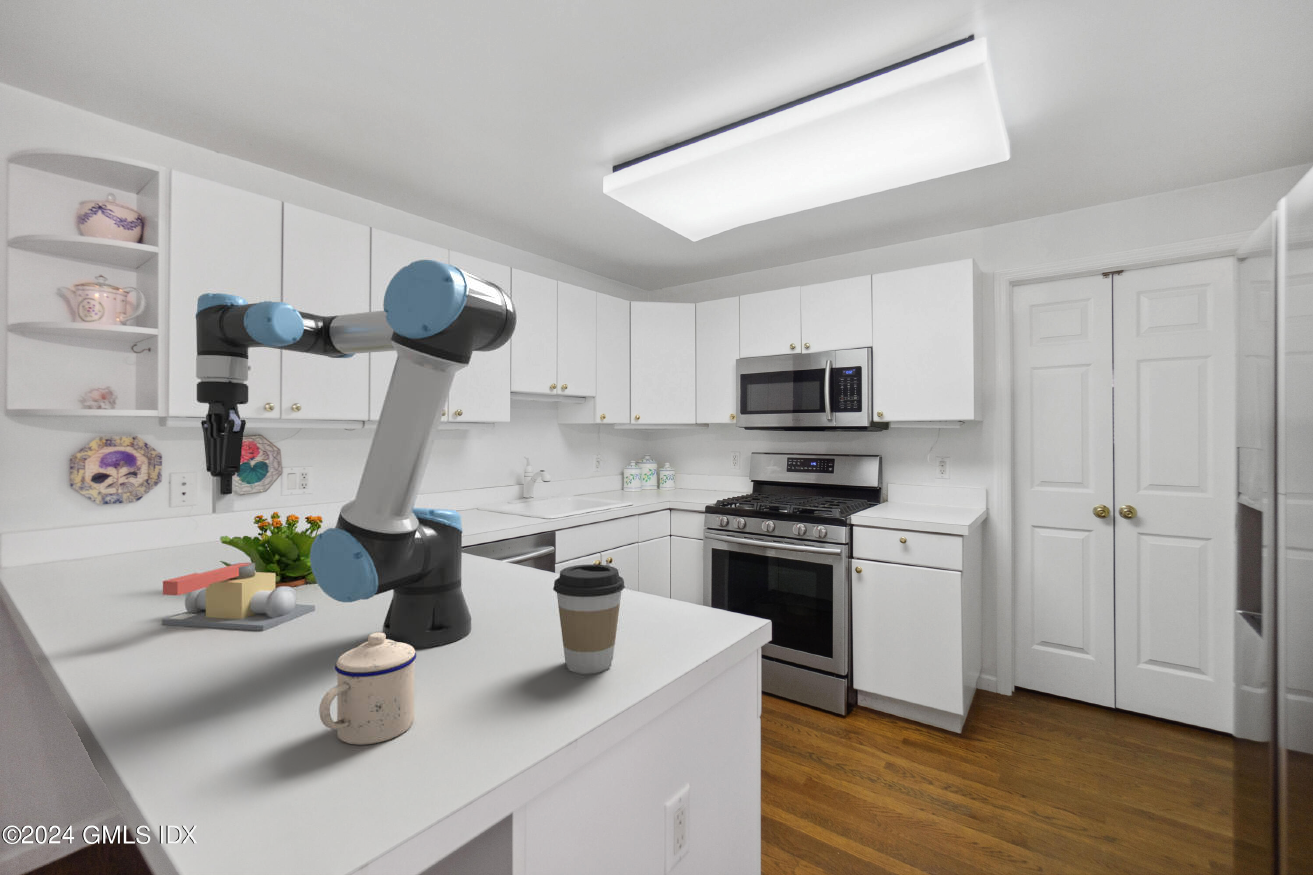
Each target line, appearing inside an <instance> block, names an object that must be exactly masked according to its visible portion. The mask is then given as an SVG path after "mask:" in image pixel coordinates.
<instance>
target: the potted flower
mask: <svg viewBox="0 0 1313 875" xmlns="http://www.w3.org/2000/svg"><path fill="white" fill-rule="evenodd" d="M279 514H280V512H278V511H273V512H272V514H270V521H268V519H269V518H268V517H267V518H266V517H265V518H264V515H263V514H260V515H255V516H254V517H253V520H254V521H253V524H254V525H257V526H256V528H258V530H259V531H260V532H258V533H257V535H258V536H260V537H258V536H254V537H253V538H252V536H248V535H243V536H242V537H241V536H234V537H232V538H231V537H229V536H228V535H223V536H222V535H221V536H220V537H219V539H220V540H219V541H221V542H220V544H224V545H226V546H227V545H228V546H230V547H233V548H235V549H237V550H239V551H241V552H243V553H244V554H245V555H246V556H247V557H248V558H249V559H250V563H255V572H262V573H276V574H275V588H277V587H280V586H286V587H291V588H295V587H298V586H299V587H301V586H302V585H305V584H306V583H311V584H314V583H315V584H318V583H317V582H316V578H315V576H314V575H313V572H312V569H311V563H310V552H311V547H312V544H313V542H314V540H315V538H316V537H317V536H318V535H319V534H321V533H322V532H320V533H319V532H318V531H319V530H320V529H322V524H323V521H324V520H323V517H322V516H321V515H315V516H314V515H309V516H305V517H304V520H305V522H306V523H307V525H309V527H308V528H305V530H301V532H300V531H298V530H296V529H298V523H299V520H300V517H299V515H296V514H289V515H286V519H285V523H283V522H282V520H281V519H280V518H281V515H279ZM268 531H269V533H270V534H271V535H269V534H267V533H268ZM308 532H309V533H308ZM314 532H315V535H314V536H313V533H314ZM219 562H220V563H221V564H223V565H224V566H225V567H227V566H229V565H232V563H228V562H227V561H222V560H219Z"/></svg>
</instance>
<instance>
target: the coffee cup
mask: <svg viewBox="0 0 1313 875" xmlns="http://www.w3.org/2000/svg"><path fill="white" fill-rule="evenodd" d="M553 582H554V584H553V585H554V586H553V588H552V590H553V591H554V592H555V593H556V597H557V605H558V613H559V614H558V615H559V622H560V628H561V638H562V646H563V653H564V654H563V655H564V662H565V663H566V667H567V669H568V670H569V671H570V672H572V673H576V674H583V675H593V674H598V673H602V672H604V671H607V670H609V669H610V668H611V667H612V662H613V660H614V653H615V646H616V639H617V638H616V636H617V630H618V622H619V612H620V605H621V597H622V591H623V590H624V589H625V588H626V587H625V580H624V578H623V577H622V576H621V575H620V574H619V569H618V568H616V567H614V566H610V565H607V564H606V565H605V564H590V563H589V564H578V565H571V566H568V567H565V568H563V569H561V570H560V571H559V577H557V578H556V579H555V580H554V581H553Z"/></svg>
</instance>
